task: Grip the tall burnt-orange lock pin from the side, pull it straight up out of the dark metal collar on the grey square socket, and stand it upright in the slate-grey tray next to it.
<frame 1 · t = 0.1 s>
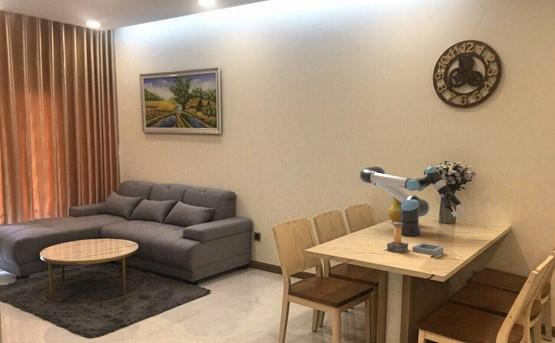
hand: (459, 214, 304), 15 cm above the table, fingers open, 13 cm apart
lock pin: (397, 250, 266), point 1 cm above the table, touching grey square socket
grey square socket: (397, 252, 266), on the table
pitcher: (400, 224, 351), on the table
tray: (427, 253, 264), on the table
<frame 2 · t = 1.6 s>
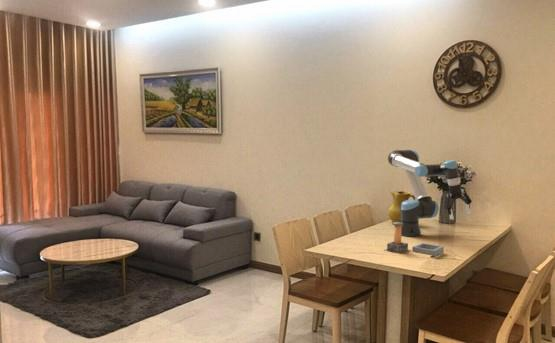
hand: (460, 216, 294), 16 cm above the table, fingers open, 13 cm apart
nothing on the table moved.
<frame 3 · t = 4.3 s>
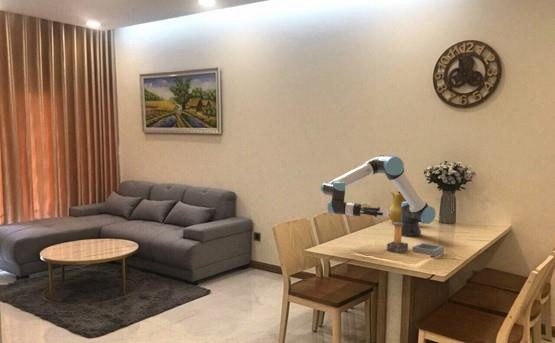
hand: (389, 213, 267), 23 cm above the table, fingers open, 13 cm apart
nothing on the table moved.
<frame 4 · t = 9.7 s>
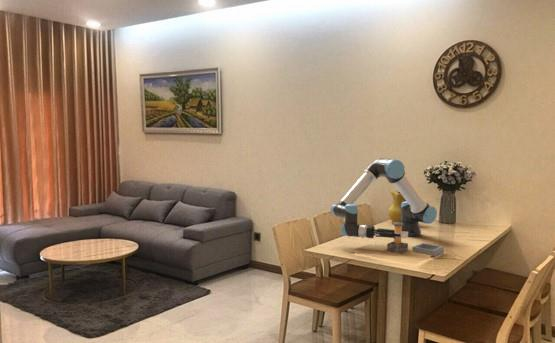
hand: (407, 234, 263), 11 cm above the table, fingers closed on lock pin, 4 cm apart
lock pin: (397, 250, 266), point 2 cm above the table, touching gripper, grey square socket
everything else where it was.
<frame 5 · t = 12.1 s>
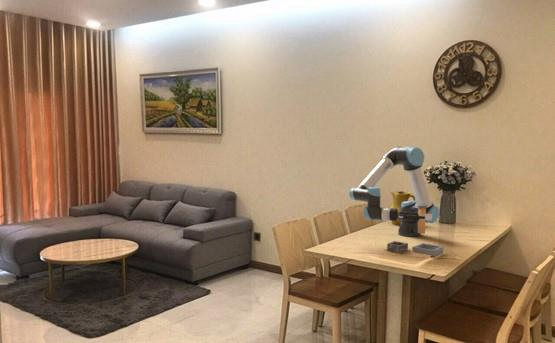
hand: (431, 217, 260), 22 cm above the table, fingers closed on lock pin, 4 cm apart
lock pin: (421, 232, 263), point 12 cm above the table, touching gripper
everything else where it was.
when the fingers open (12 cm above the table, at t = 14.5 s): lock pin drops 2 cm, resting on tray.
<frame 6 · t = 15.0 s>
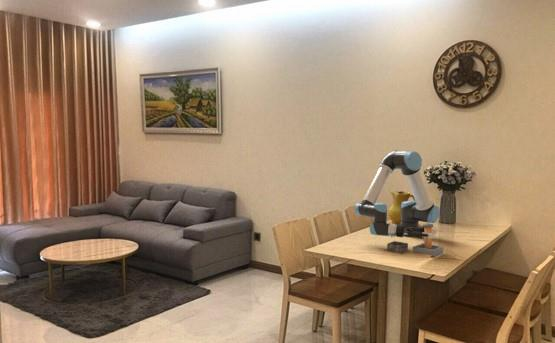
hand: (435, 233, 262), 12 cm above the table, fingers open, 11 cm apart
lock pin: (427, 251, 264), point 1 cm above the table, touching tray
everything else where it was.
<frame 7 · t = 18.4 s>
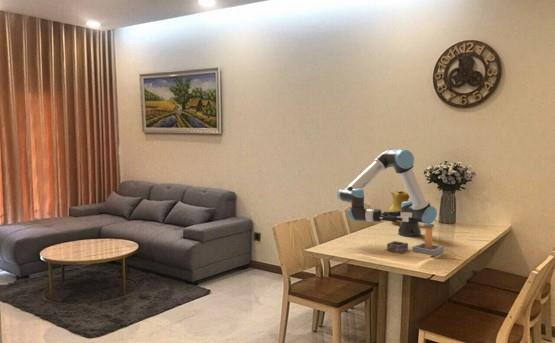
hand: (410, 217, 266), 21 cm above the table, fingers open, 13 cm apart
nothing on the table moved.
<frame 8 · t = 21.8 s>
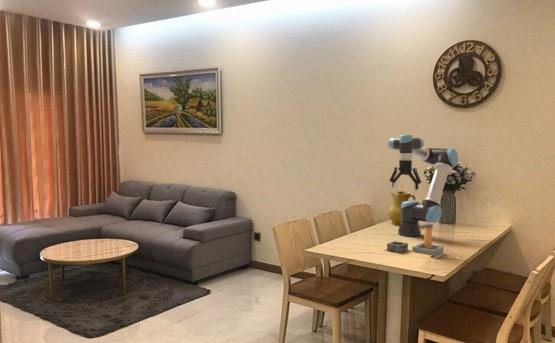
hand: (404, 193, 285), 32 cm above the table, fingers open, 13 cm apart
nothing on the table moved.
at the end: lock pin inside the target area on the tray (0.0 cm from its centre), point 1.0 cm above the tray's base; lock pin tilted 1°; the gripper is holding nothing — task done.
